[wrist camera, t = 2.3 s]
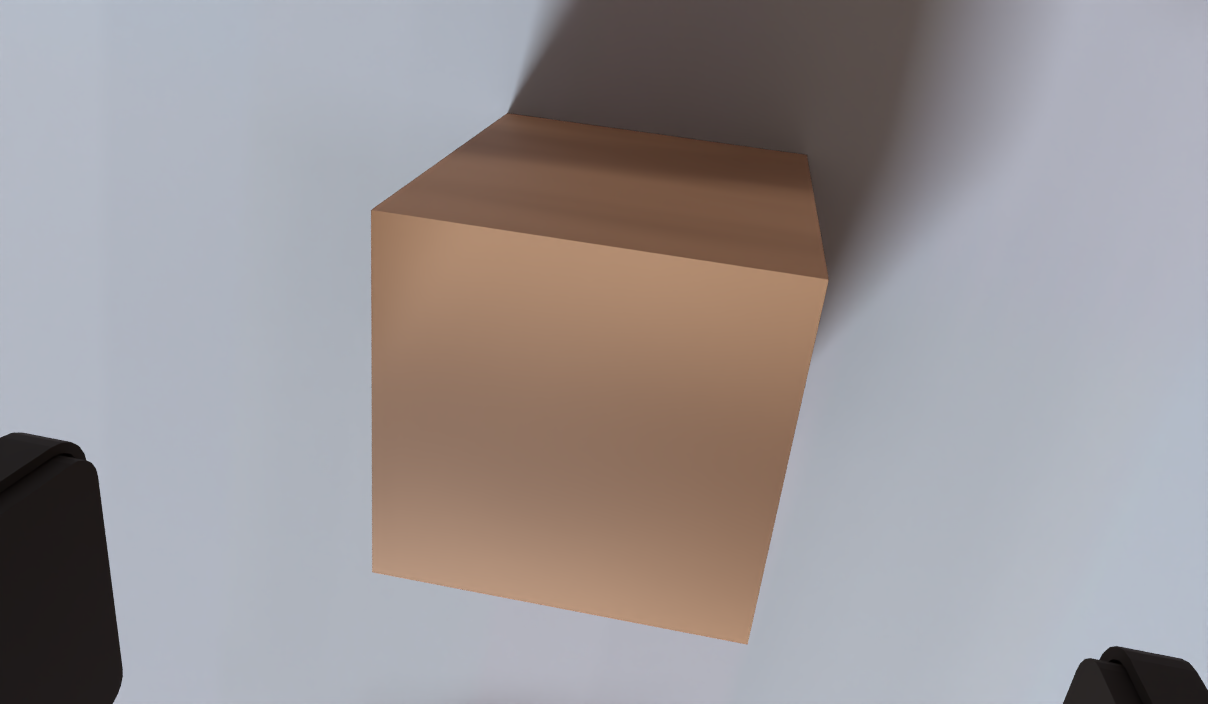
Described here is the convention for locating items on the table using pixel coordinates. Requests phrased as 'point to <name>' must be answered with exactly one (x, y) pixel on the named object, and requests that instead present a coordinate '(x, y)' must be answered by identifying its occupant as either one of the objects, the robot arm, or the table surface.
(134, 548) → the table surface
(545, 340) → the walnut block
